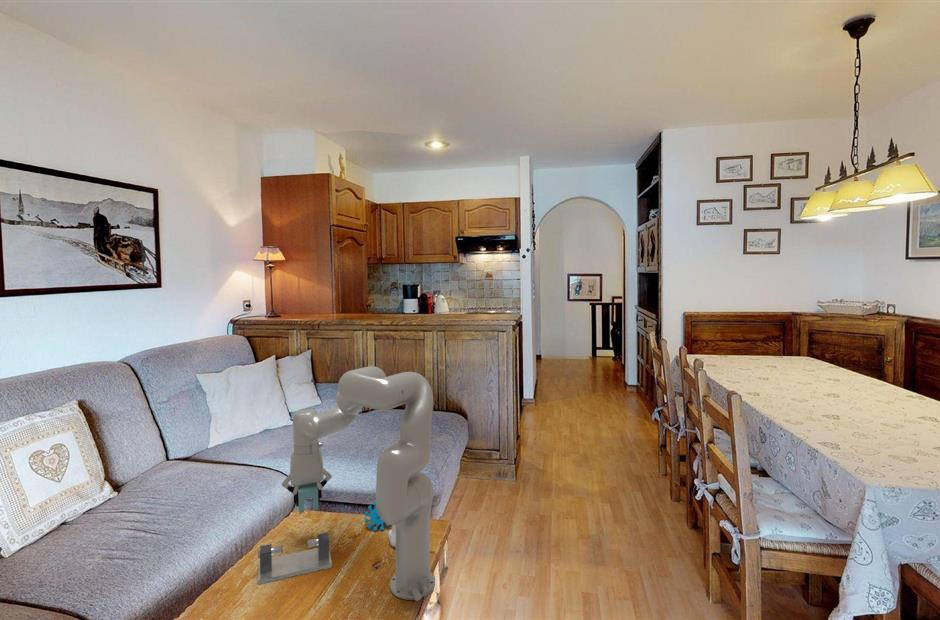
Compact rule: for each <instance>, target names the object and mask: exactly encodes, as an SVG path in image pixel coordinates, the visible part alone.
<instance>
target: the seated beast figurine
mask: <svg viewBox="0 0 940 620" xmlns="http://www.w3.org/2000/svg"><path fill="white" fill-rule="evenodd" d="M387 535H388V536H387V537H388V540H389V543H390V545H391V546H392V547H393V548H396V525H391V529H389V530H388V533H387Z"/></svg>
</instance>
